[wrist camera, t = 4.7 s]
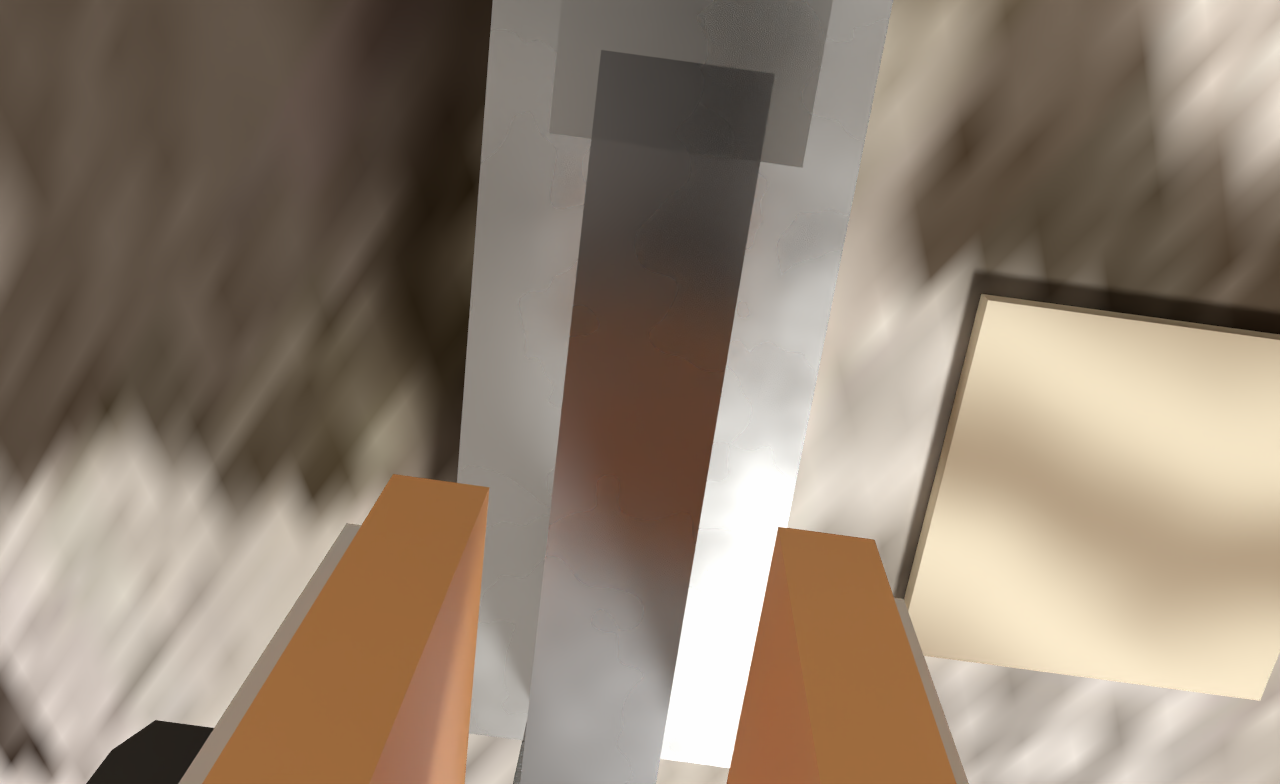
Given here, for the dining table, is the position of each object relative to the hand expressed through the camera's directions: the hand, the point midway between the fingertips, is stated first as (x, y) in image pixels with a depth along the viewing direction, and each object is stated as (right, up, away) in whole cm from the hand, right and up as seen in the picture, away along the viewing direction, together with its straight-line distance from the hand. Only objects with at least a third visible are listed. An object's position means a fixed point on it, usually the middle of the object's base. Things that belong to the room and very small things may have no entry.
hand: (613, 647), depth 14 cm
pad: (+13, +1, +13) cm, 18 cm away
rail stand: (0, +4, +12) cm, 13 cm away
